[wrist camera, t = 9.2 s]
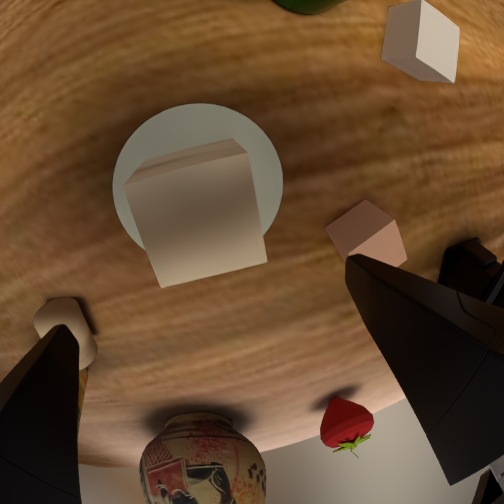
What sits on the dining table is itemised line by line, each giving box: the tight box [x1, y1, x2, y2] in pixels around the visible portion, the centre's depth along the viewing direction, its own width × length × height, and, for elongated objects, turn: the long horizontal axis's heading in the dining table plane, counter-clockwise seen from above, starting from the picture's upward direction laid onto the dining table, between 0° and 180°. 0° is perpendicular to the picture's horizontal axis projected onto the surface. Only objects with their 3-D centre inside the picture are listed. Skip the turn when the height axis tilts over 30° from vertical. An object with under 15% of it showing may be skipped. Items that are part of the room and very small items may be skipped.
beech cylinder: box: [34, 297, 98, 370], centre depth 19 cm, size 4×4×4 cm
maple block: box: [123, 138, 267, 288], centre depth 15 cm, size 6×6×6 cm
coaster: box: [113, 103, 283, 251], centre depth 18 cm, size 11×11×1 cm
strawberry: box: [320, 397, 374, 457], centre depth 31 cm, size 6×8×10 cm
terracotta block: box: [325, 199, 407, 267], centre depth 20 cm, size 4×4×4 cm
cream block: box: [381, 0, 460, 83], centre depth 13 cm, size 5×4×4 cm
